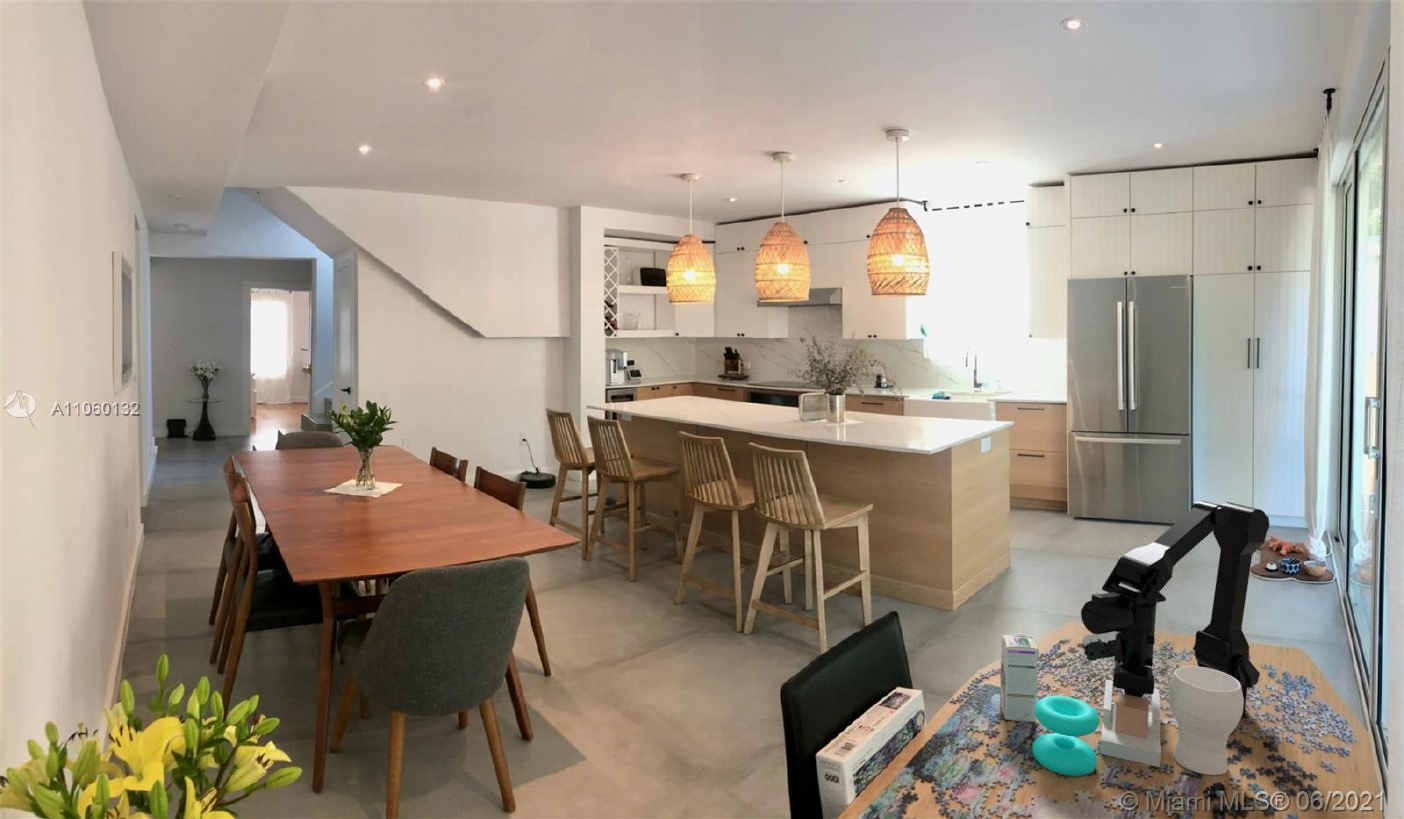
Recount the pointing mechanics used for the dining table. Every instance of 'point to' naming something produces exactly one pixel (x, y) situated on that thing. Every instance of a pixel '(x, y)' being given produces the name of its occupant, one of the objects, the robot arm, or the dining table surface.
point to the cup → (1204, 716)
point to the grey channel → (1128, 744)
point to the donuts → (1065, 735)
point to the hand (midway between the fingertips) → (1130, 708)
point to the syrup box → (1018, 678)
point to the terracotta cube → (1131, 715)
